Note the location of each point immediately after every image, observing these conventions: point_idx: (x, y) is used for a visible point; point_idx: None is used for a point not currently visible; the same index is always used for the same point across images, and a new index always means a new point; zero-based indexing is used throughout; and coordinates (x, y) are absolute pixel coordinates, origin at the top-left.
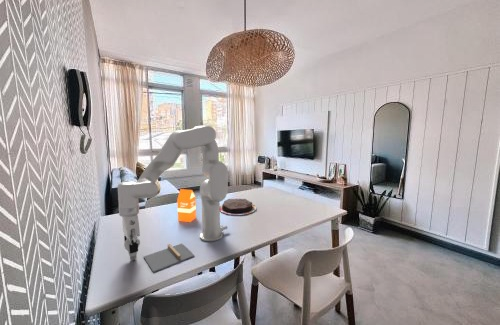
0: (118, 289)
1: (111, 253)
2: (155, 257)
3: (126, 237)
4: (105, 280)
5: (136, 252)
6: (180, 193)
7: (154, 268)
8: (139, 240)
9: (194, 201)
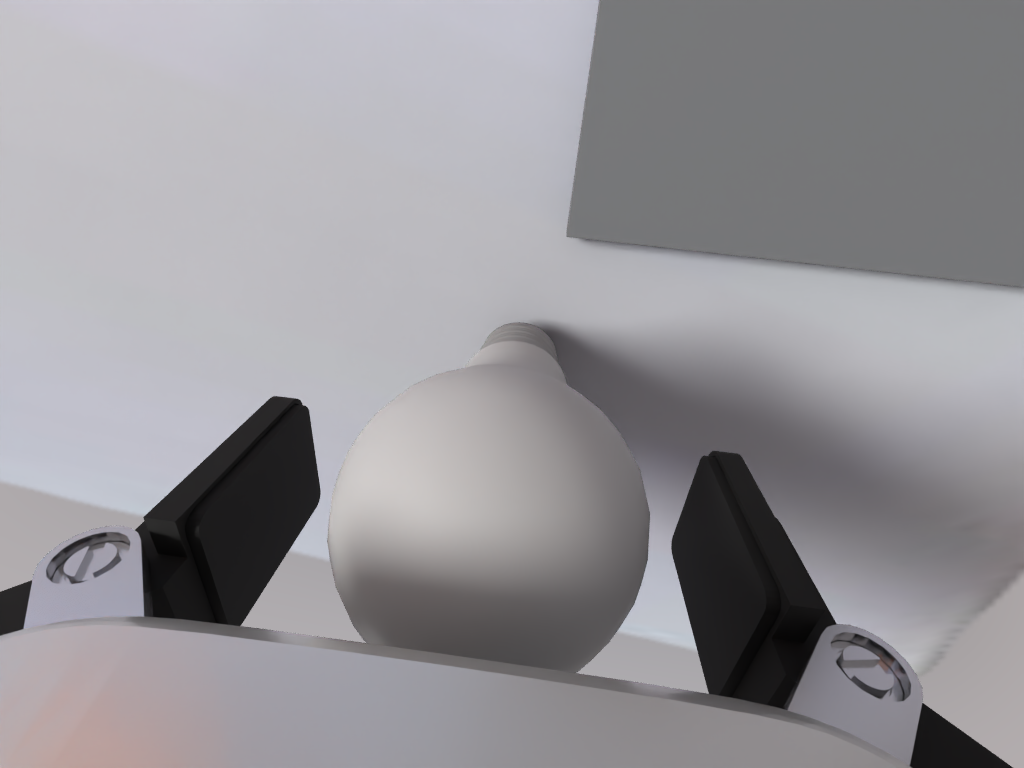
0: (887, 573)
1: (213, 451)
2: (761, 98)
3: (244, 588)
4: (664, 588)
5: (554, 370)
6: None
7: (1020, 248)
8: (561, 438)
9: None
